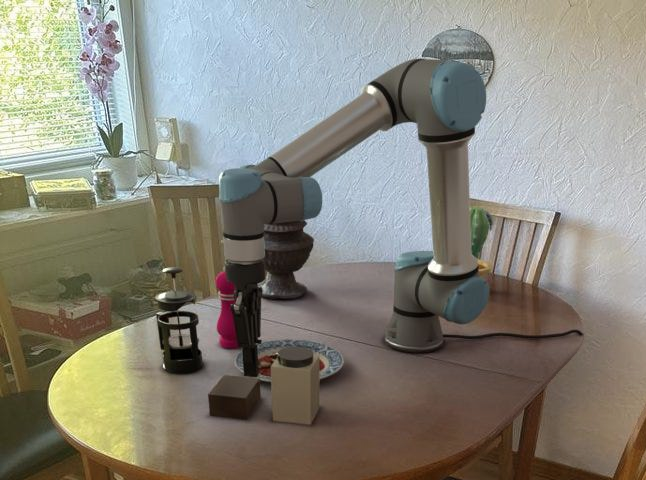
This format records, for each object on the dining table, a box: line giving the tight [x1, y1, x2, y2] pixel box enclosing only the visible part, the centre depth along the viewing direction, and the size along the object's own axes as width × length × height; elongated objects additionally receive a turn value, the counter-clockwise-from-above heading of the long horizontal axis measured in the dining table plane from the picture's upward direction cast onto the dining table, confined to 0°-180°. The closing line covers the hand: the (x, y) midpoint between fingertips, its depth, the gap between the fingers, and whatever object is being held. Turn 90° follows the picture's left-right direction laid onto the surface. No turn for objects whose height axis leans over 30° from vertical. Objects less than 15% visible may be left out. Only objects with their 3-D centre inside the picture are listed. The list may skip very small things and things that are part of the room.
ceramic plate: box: [234, 339, 345, 383], centre depth 167 cm, size 26×26×3 cm
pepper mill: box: [214, 265, 241, 350], centre depth 174 cm, size 7×7×20 cm
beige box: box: [270, 347, 320, 426], centre depth 144 cm, size 15×8×15 cm
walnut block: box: [207, 374, 262, 421], centre depth 148 cm, size 8×10×5 cm
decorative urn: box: [258, 220, 315, 300], centre depth 206 cm, size 20×20×35 cm
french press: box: [154, 267, 205, 375], centre depth 160 cm, size 12×9×23 cm
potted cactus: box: [470, 205, 494, 280], centre depth 218 cm, size 15×15×25 cm
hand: (251, 375), depth 144 cm, fingers closed
